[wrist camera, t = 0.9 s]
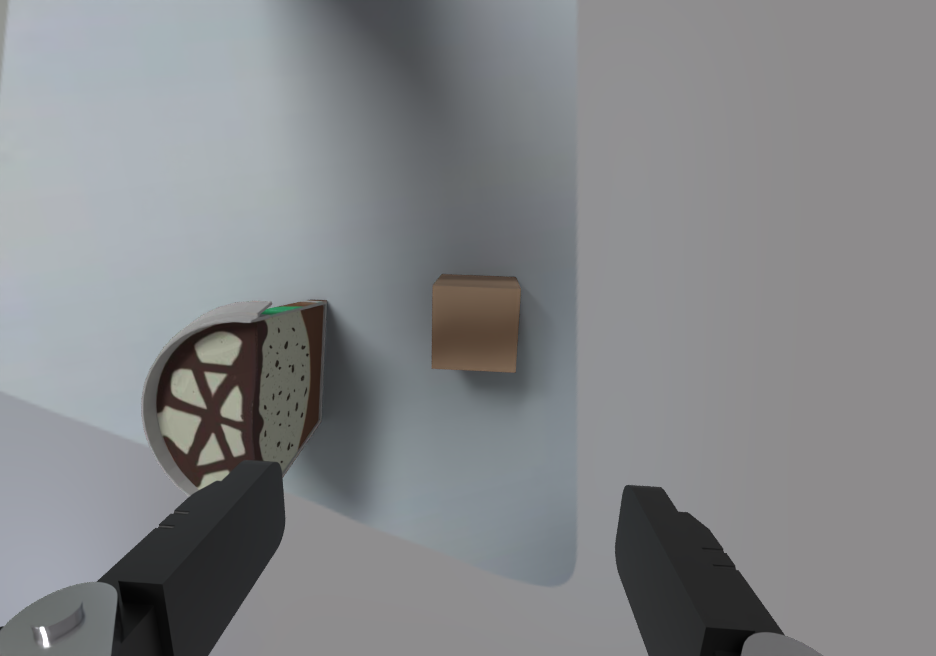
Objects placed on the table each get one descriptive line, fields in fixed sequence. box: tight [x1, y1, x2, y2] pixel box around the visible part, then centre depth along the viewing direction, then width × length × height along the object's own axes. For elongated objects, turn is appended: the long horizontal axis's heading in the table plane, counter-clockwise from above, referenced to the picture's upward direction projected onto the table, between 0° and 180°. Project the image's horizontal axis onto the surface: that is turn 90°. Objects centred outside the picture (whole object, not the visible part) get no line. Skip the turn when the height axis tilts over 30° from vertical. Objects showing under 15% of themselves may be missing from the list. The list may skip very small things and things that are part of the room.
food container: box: [141, 300, 327, 497], centre depth 26 cm, size 12×6×10 cm, turn 173°
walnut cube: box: [432, 274, 521, 373], centre depth 27 cm, size 5×5×5 cm
